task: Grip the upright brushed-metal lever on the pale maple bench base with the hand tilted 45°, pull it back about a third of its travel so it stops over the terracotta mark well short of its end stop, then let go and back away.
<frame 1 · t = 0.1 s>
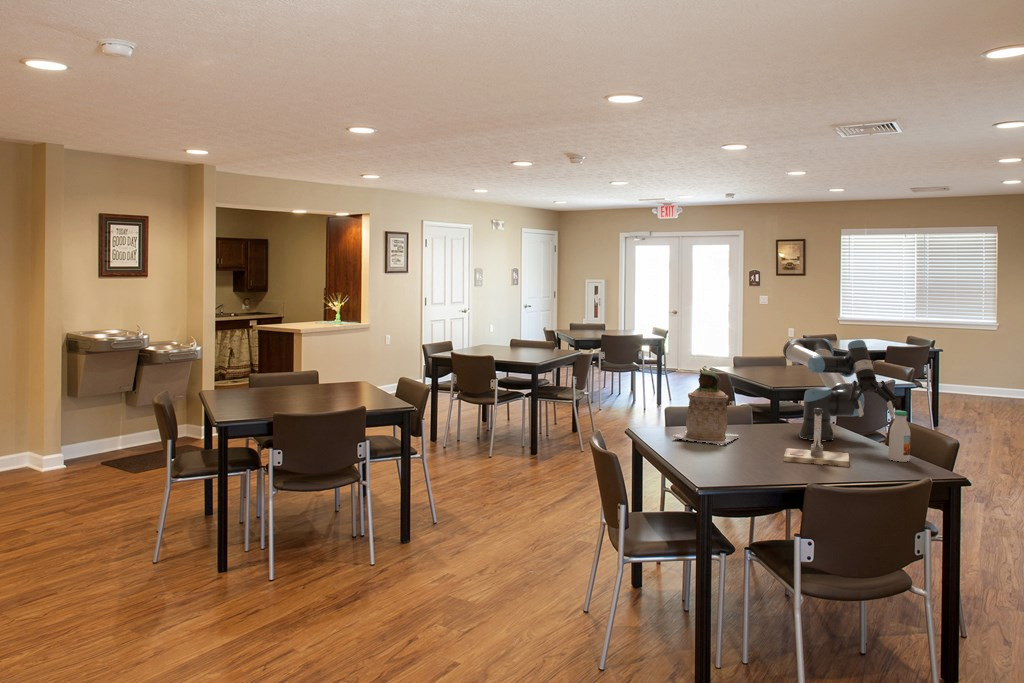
hand: (877, 415, 345), 15 cm above the table, tool tilted 35°, fingers open, 13 cm apart
bench base: (816, 459, 327), on the table
milk bottle: (898, 460, 327), on the table
cookie jar: (706, 439, 369), on the table
lever: (817, 430, 326), point 12 cm above the table, hinge at 0.0°
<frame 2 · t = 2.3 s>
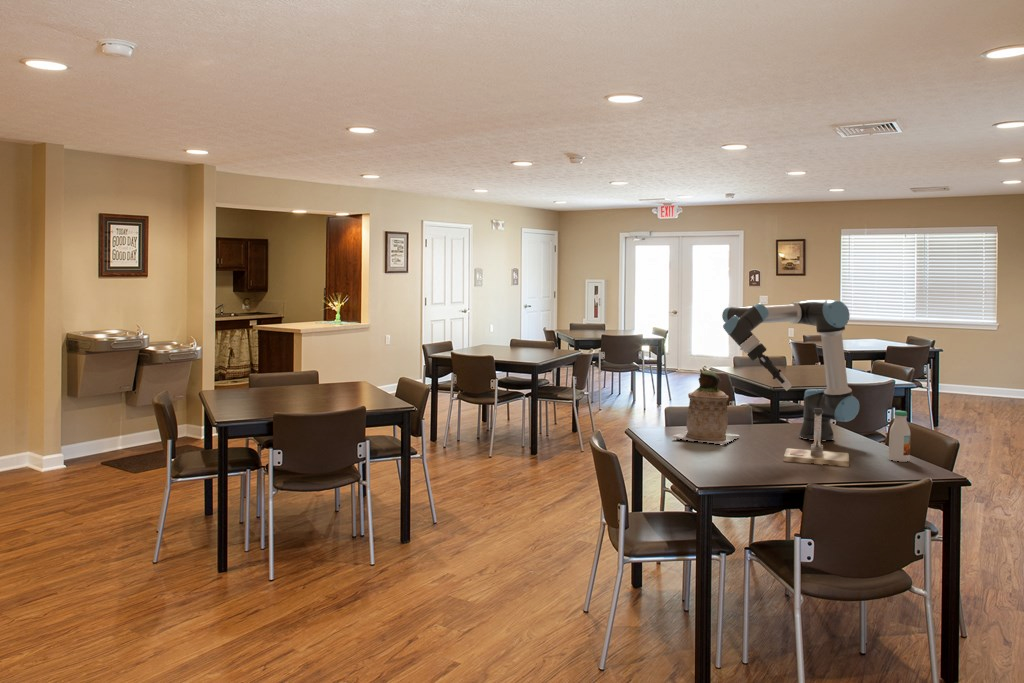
hand: (789, 387, 332), 28 cm above the table, tool tilted 45°, fingers open, 13 cm apart
nothing on the table moved.
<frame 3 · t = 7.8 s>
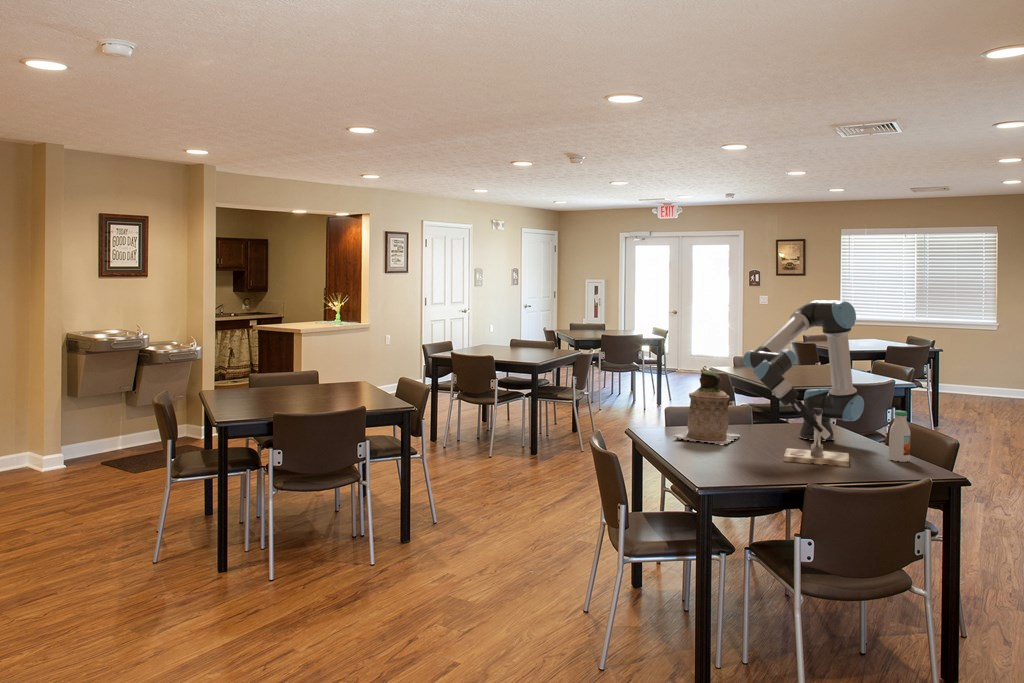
hand: (827, 436, 325), 10 cm above the table, tool tilted 45°, fingers closed on lever, 3 cm apart
lever: (817, 430, 326), point 12 cm above the table, hinge at 0.0°, touching gripper
everything else where it was.
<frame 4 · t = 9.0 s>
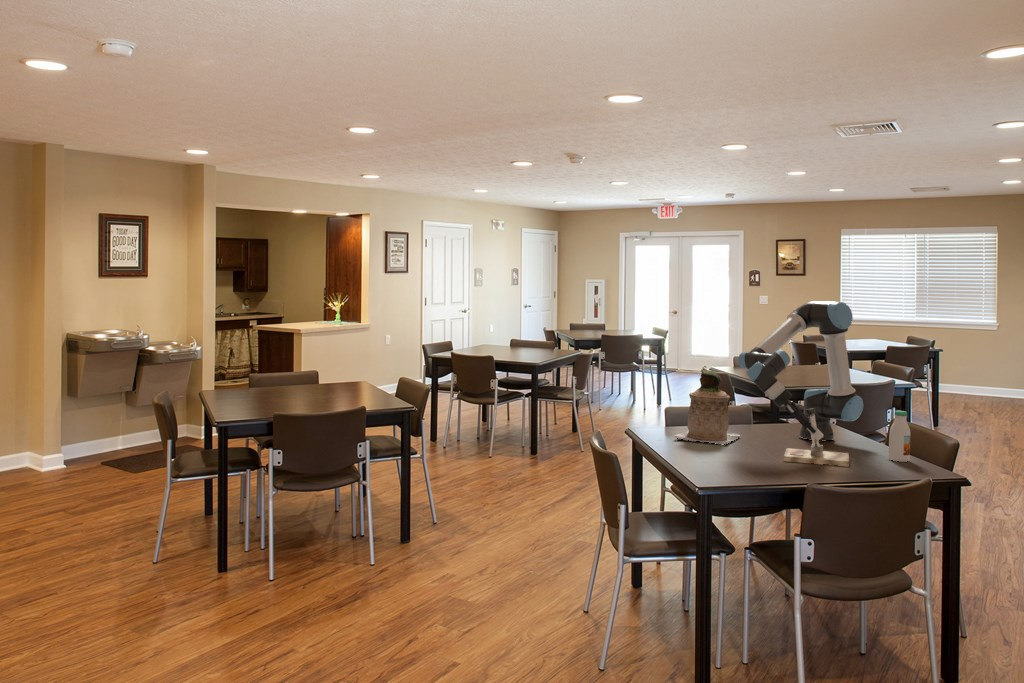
hand: (820, 437, 326), 9 cm above the table, tool tilted 45°, fingers closed on lever, 3 cm apart
lever: (813, 430, 327), point 12 cm above the table, hinge at 10.7°, touching gripper
everything else where it was.
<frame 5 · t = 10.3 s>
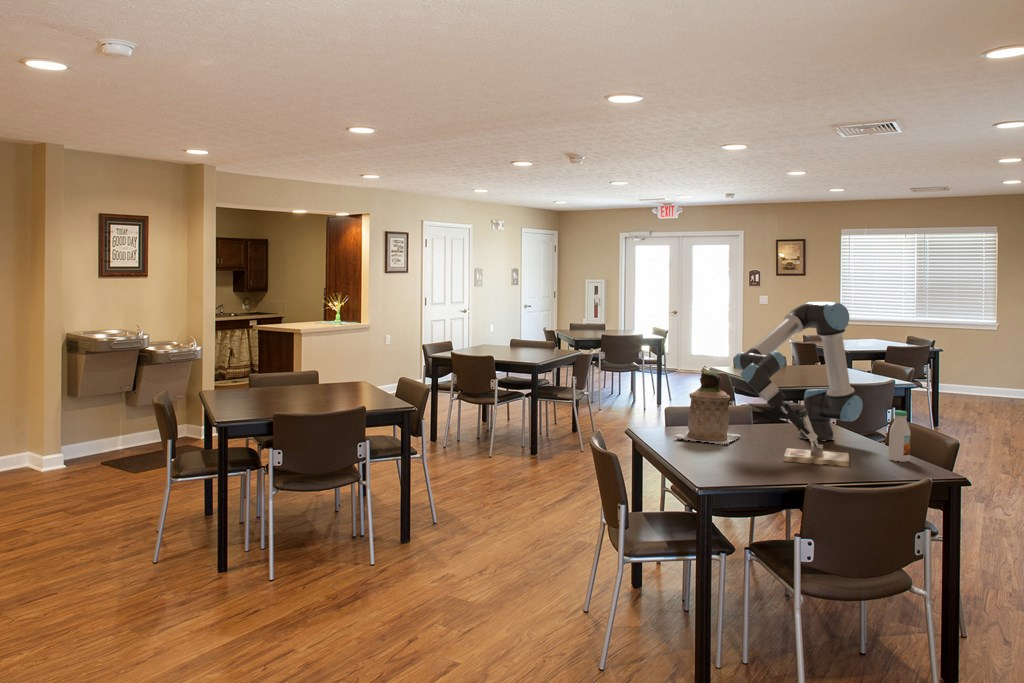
hand: (814, 439, 327), 8 cm above the table, tool tilted 45°, fingers closed on lever, 3 cm apart
lever: (810, 431, 327), point 11 cm above the table, hinge at 21.2°, touching gripper
everything else where it was.
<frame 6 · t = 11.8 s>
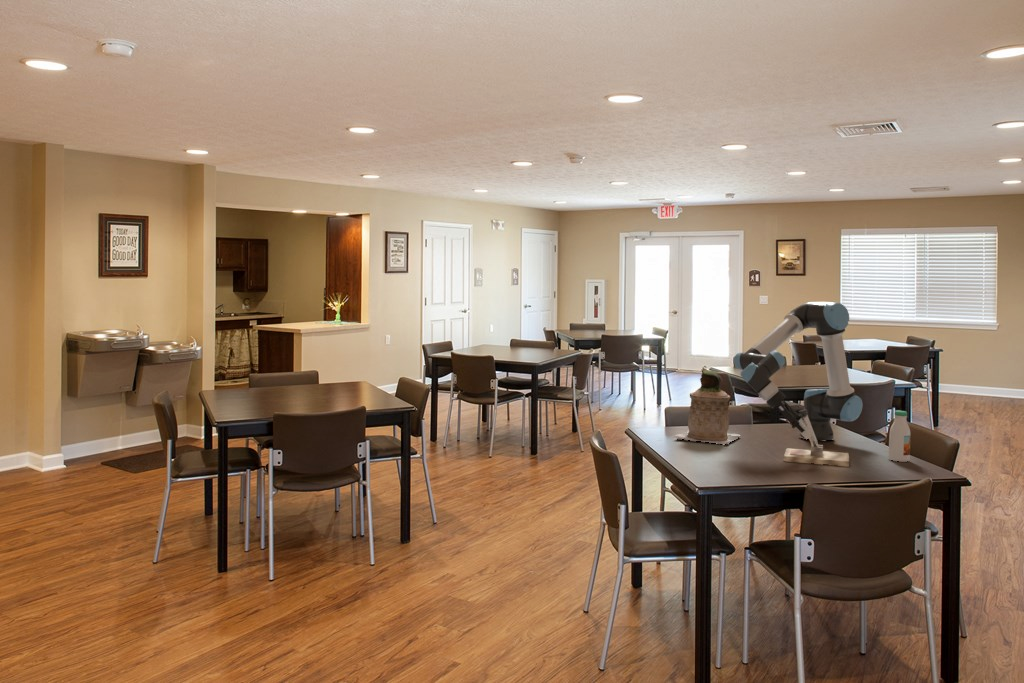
hand: (810, 434, 327), 10 cm above the table, tool tilted 45°, fingers open, 13 cm apart
lever: (810, 431, 327), point 11 cm above the table, hinge at 21.4°
everything else where it was.
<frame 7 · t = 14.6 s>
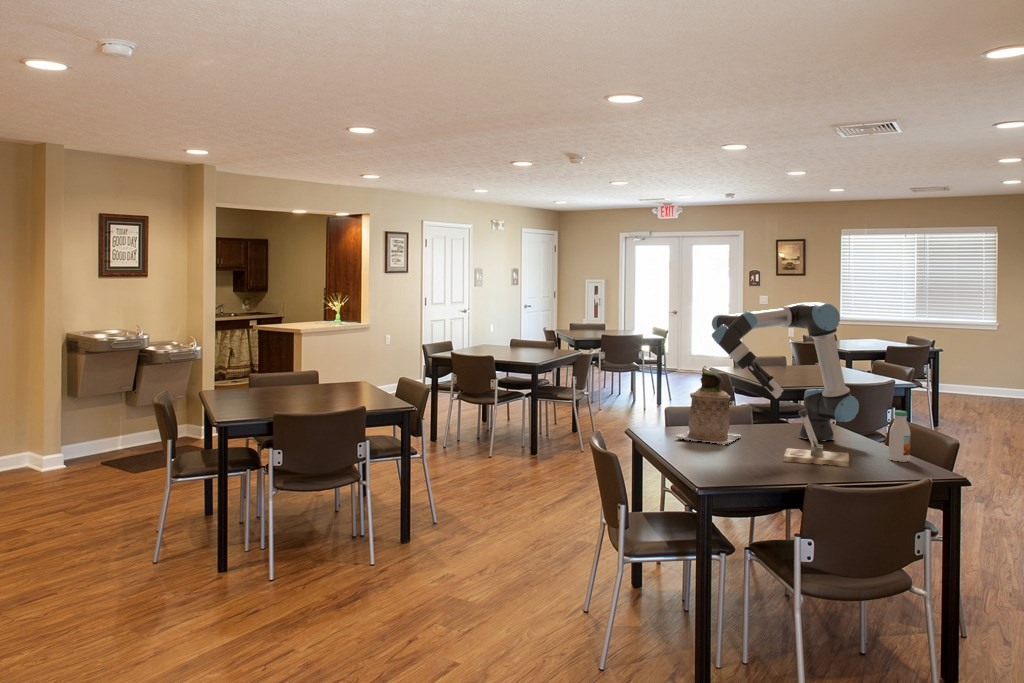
hand: (780, 394, 331), 25 cm above the table, tool tilted 45°, fingers open, 13 cm apart
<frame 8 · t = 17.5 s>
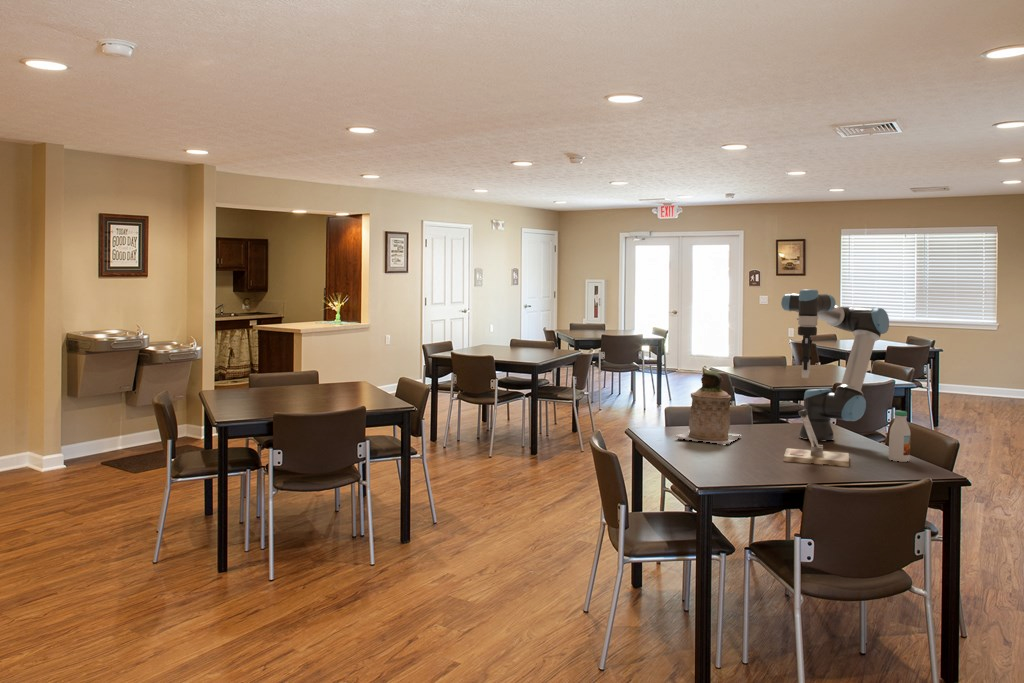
hand: (805, 376, 343), 32 cm above the table, tool pointing down, fingers open, 13 cm apart
at the end: lever at +21° (first picture: +0°); the gripper is holding nothing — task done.
